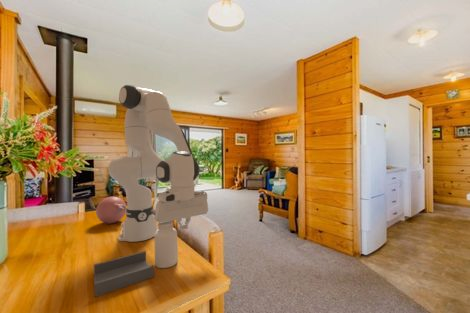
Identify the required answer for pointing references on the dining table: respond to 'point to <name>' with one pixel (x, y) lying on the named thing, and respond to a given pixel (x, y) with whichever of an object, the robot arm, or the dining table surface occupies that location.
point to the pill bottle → (166, 245)
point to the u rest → (121, 272)
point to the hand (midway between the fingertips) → (183, 229)
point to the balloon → (111, 209)
